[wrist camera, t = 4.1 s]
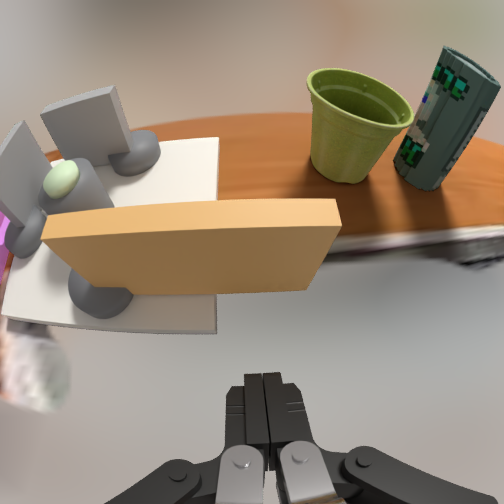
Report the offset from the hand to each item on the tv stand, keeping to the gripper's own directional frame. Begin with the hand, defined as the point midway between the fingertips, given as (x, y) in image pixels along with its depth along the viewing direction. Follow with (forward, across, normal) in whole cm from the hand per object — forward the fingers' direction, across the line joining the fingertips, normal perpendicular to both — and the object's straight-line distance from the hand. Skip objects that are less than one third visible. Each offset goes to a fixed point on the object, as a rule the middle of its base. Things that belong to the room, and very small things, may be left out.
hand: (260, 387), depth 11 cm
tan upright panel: (+8, +5, -1) cm, 10 cm away
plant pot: (+19, -10, -9) cm, 23 cm away
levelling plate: (+14, +12, -4) cm, 19 cm away
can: (+19, -20, -9) cm, 29 cm away
